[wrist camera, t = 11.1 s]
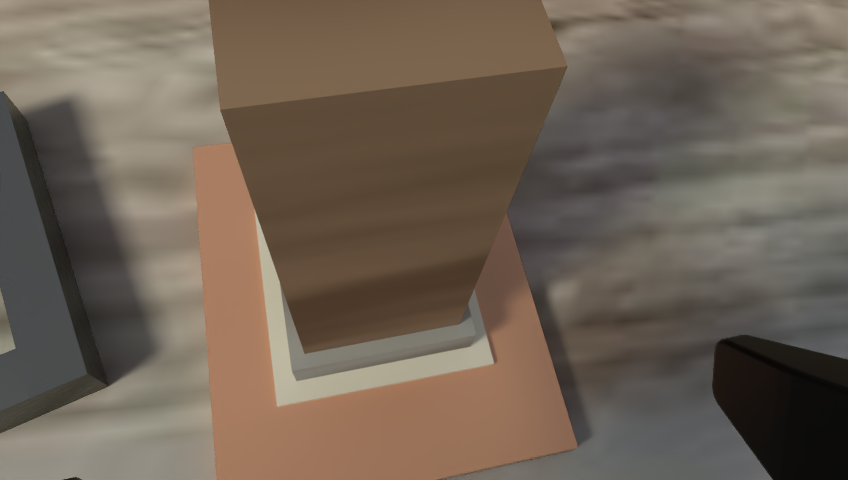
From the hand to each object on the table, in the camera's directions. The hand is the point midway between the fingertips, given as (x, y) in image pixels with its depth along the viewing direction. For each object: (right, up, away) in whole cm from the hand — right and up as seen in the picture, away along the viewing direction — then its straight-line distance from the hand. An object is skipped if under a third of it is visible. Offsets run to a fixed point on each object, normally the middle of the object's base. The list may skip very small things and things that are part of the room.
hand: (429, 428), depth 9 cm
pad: (-2, +1, +11) cm, 12 cm away
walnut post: (-2, +1, +11) cm, 11 cm away
